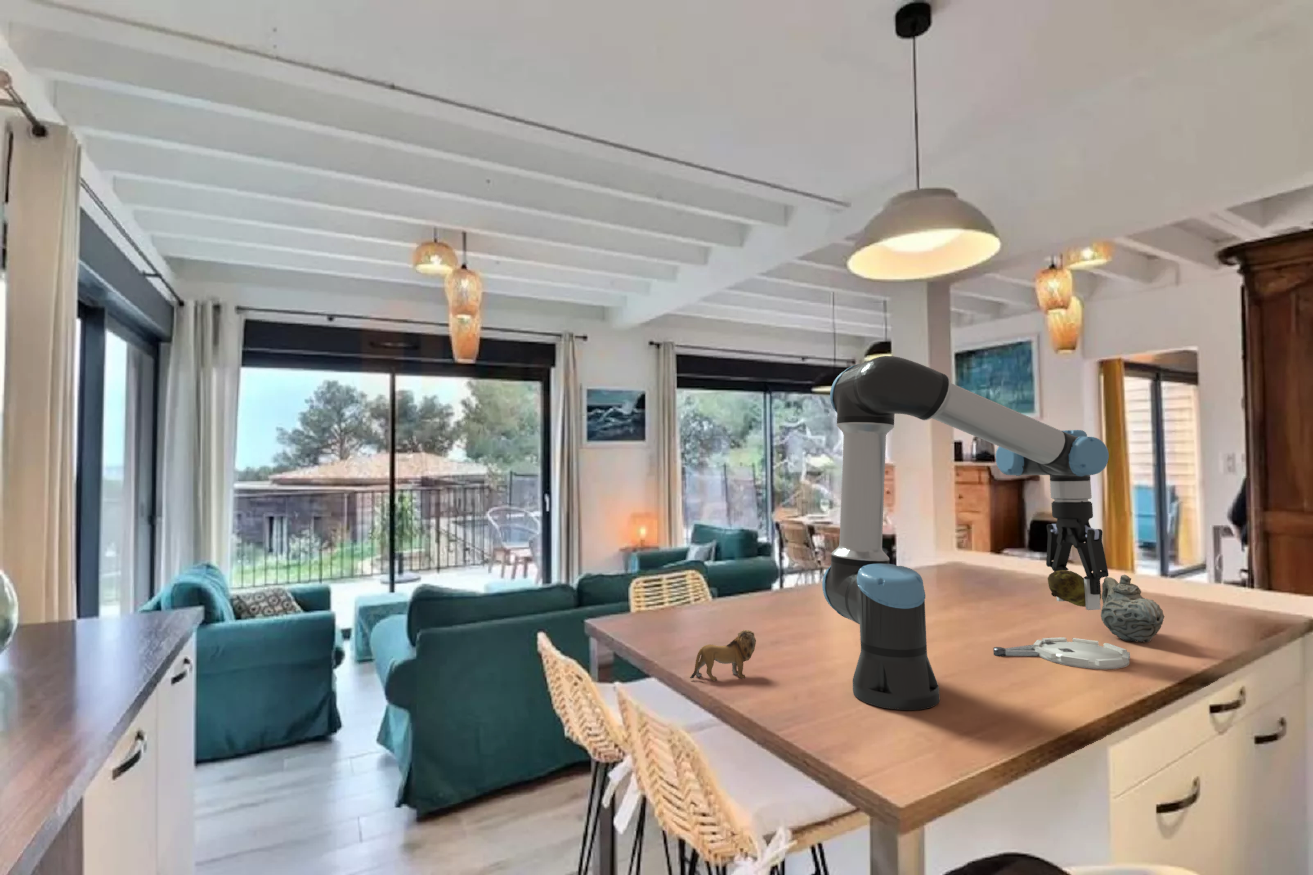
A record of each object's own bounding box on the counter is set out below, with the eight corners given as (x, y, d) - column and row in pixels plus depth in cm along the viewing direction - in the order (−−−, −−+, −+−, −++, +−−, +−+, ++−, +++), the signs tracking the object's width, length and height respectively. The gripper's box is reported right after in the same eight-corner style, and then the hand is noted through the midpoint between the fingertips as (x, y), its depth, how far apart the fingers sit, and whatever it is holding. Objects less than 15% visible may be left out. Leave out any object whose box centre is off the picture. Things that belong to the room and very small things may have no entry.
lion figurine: (750, 668, 135) (749, 626, 135) (761, 676, 130) (760, 632, 130) (686, 677, 131) (684, 633, 131) (694, 685, 126) (693, 639, 126)
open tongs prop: (1007, 661, 135) (1007, 654, 135) (982, 649, 144) (982, 643, 144) (1078, 657, 136) (1078, 651, 136) (1049, 645, 145) (1048, 639, 145)
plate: (1072, 671, 128) (1071, 662, 128) (1018, 647, 144) (1017, 639, 145) (1150, 667, 129) (1150, 658, 129) (1088, 643, 146) (1087, 636, 146)
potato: (1120, 608, 134) (1118, 570, 134) (1064, 612, 132) (1062, 573, 133) (1089, 600, 142) (1087, 564, 142) (1036, 603, 141) (1034, 567, 141)
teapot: (1187, 652, 138) (1183, 583, 138) (1129, 651, 140) (1125, 582, 140) (1130, 627, 159) (1126, 567, 159) (1080, 626, 161) (1077, 567, 161)
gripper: (1126, 502, 128) (1133, 615, 127) (1054, 497, 149) (1060, 594, 148) (1091, 503, 128) (1098, 617, 127) (1024, 498, 148) (1029, 596, 147)
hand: (1077, 604), depth 137 cm, fingers closed on potato, 8 cm apart
